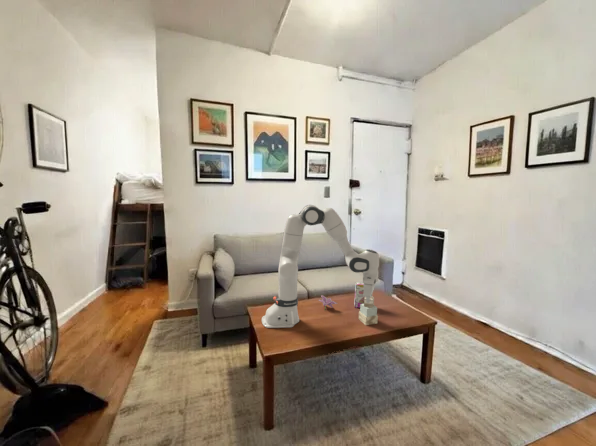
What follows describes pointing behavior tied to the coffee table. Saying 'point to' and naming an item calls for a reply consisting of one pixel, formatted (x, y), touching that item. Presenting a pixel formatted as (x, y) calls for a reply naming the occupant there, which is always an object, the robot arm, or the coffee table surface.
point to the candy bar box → (359, 294)
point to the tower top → (368, 310)
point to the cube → (369, 303)
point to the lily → (327, 301)
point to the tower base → (368, 319)
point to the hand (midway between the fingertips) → (369, 299)
